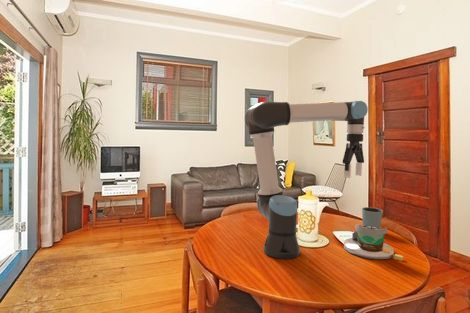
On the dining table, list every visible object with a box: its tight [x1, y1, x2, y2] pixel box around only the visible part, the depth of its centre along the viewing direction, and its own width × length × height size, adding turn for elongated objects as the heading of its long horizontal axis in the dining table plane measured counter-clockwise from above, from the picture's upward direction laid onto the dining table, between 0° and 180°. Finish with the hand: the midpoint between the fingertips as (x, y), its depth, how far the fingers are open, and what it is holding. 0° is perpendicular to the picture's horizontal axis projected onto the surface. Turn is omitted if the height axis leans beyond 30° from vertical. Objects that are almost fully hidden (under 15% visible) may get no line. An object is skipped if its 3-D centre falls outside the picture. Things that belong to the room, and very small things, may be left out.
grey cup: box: [361, 206, 384, 228], centre depth 155 cm, size 10×10×12 cm
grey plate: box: [343, 230, 395, 260], centre depth 127 cm, size 20×20×6 cm
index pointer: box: [392, 253, 404, 262], centre depth 119 cm, size 3×2×2 cm, turn 46°
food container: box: [355, 223, 388, 252], centre depth 121 cm, size 12×6×10 cm, turn 67°
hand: (352, 176), depth 143 cm, fingers open, 13 cm apart
